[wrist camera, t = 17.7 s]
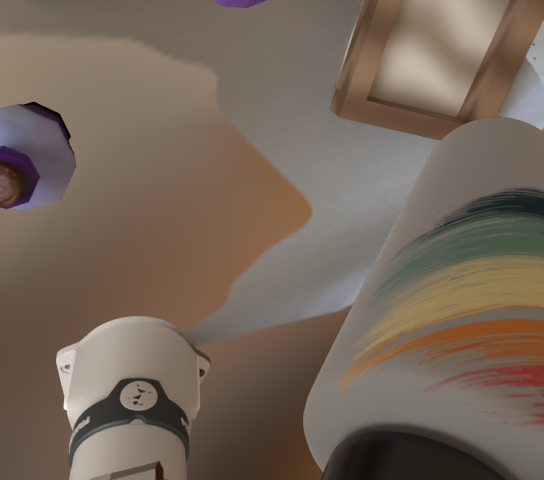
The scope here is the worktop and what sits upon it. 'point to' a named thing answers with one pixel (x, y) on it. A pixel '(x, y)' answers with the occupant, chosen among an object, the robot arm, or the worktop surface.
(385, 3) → the brown square shallow frame
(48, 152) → the potion bottle
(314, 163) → the worktop surface
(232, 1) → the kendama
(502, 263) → the lotion bottle
